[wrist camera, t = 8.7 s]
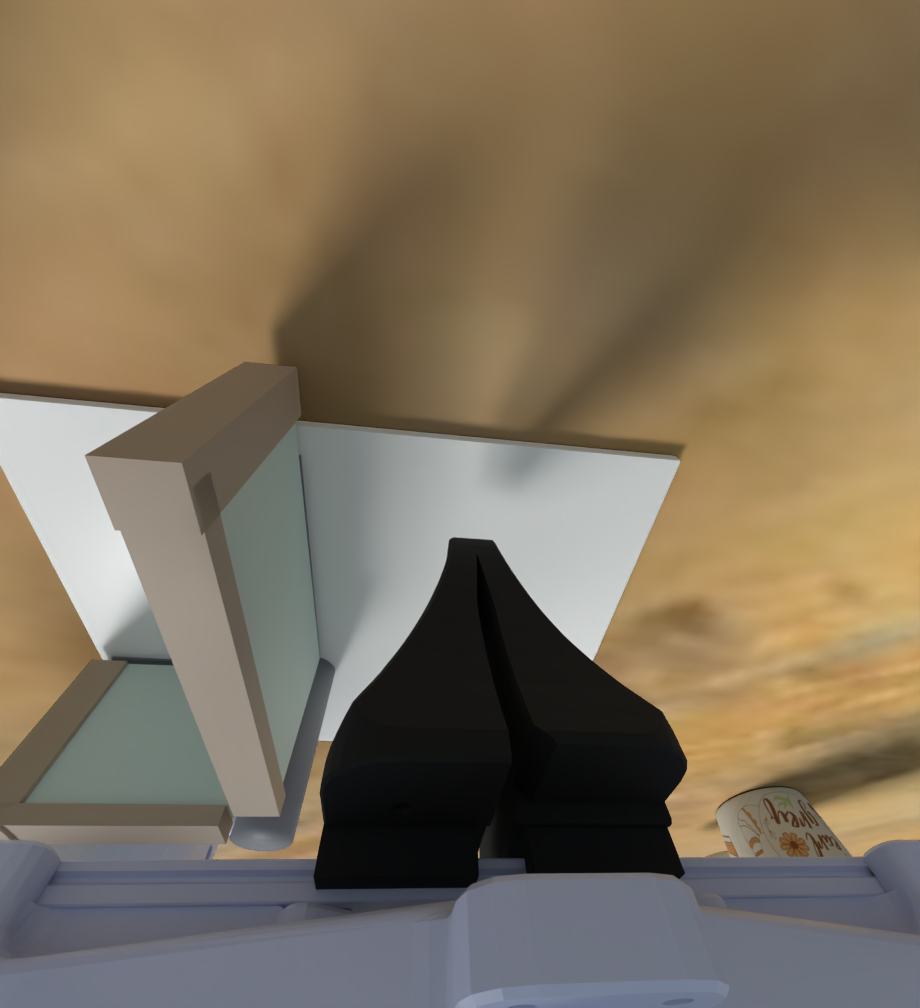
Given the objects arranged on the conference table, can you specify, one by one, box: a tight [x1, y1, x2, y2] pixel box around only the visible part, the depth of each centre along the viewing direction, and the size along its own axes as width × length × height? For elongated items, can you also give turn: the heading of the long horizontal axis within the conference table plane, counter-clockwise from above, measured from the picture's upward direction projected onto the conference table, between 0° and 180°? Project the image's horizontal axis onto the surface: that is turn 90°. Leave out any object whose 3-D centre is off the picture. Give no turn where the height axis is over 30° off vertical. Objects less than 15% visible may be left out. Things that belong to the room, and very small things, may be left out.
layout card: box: [0, 393, 681, 741], centre depth 18 cm, size 18×22×1 cm
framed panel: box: [85, 362, 320, 817], centre depth 12 cm, size 12×1×6 cm, turn 174°
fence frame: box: [0, 658, 335, 851], centre depth 16 cm, size 2×10×7 cm, turn 83°
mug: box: [706, 787, 852, 857], centre depth 26 cm, size 8×13×10 cm, turn 142°
